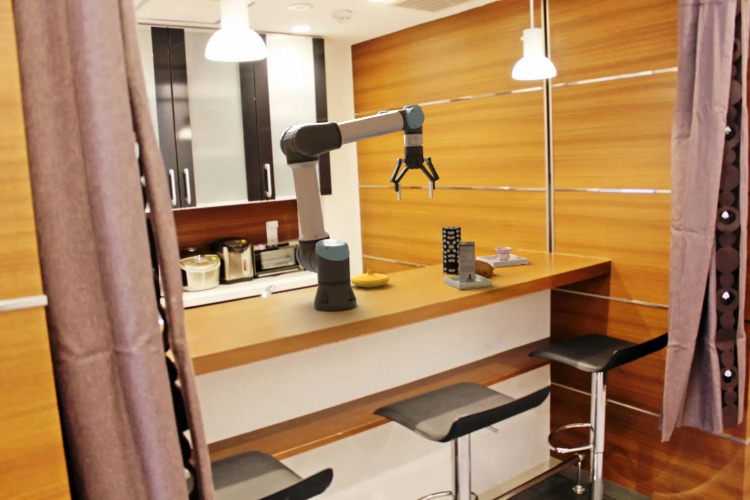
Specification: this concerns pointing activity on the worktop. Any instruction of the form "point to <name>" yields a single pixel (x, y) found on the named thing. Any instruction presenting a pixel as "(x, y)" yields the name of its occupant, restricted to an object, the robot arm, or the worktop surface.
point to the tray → (478, 283)
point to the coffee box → (466, 262)
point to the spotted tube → (451, 249)
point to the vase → (370, 279)
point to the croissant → (482, 269)
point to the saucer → (518, 261)
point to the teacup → (503, 254)
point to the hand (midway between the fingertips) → (415, 199)
